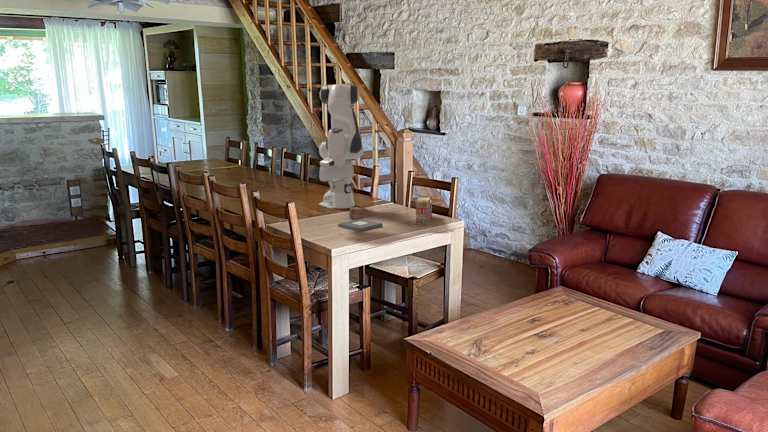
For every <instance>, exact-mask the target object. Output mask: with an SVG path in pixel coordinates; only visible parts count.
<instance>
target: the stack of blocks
mask: <svg viewBox="0 0 768 432" xmlns="http://www.w3.org/2000/svg"><path fill="white" fill-rule="evenodd" d="M432 203H433V201H432V199H431V197H420V196H419V197H418V198H417V200H416V201H415V225H416V226H417V225H418V226H428V225H429V223H430V222H431V219H432V214H433V213H432V212H433V209H432V208H433V206H432V205H433V204H432Z"/></svg>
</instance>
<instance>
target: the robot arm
mask: <svg viewBox="0 0 768 432" xmlns="http://www.w3.org/2000/svg"><path fill="white" fill-rule="evenodd" d="M359 90H360V89H359V88H358V86H357V85H354V84H345V83H342V84H341V83H340V84H330V85H328V84H327V85H322V87H320V91H319V99H320V102H321V103H322V104H324V105H327V110H328V113H329V114H330V125H331V128H330V129H329V130H328V133H327V137H326V139H325V141H322V142H321V143H320V145H319V148H318V153H319V155H320V157H321V158H322V160H320V161H319V166H320V167H319V171H318V172H319V174H318V175H319V176H318V177H319V180H320V181H321V182H327V183H328V185H329V188H330V189H335V185H333V184H332V182H333V180H343V181H344V192H343V193H332V192H330V189H329V190H328V191H327V192H326V193H324V195H323V196H322V197H323V199H322V201H321V202H319V204H318V205H319V206H321V207H325V208H328V209H331V210H332V209H338V210H339V209H350V208H354V207H356V206H355V205H356V204H355V200H354V192H353V190H352V189H353V182H352V178H354V176H355V173H354V166H353V165H354V163H353V161H352V160H354V159H360V158H361V157H362V156H363V155H364V142H363V139H362V138H363V137H362V136H361V132H360V129H359V124H358V119H357V115H356V112H355V109H353V108H351V107H352V106H353V105H355V104H357V102H358V101H359V98H360V91H359ZM350 105H351V107H350Z"/></svg>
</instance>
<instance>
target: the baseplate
mask: <svg viewBox="0 0 768 432" xmlns="http://www.w3.org/2000/svg"><path fill="white" fill-rule="evenodd" d="M337 226H338V227H339V228H343V229H346V230H350V231H351V230H352V231H355V232H364V231H367V230H373V229H376V228H381V227H383V223H382V222H378V221H374V220H369V219H365V218H363V219H357V220H348V221H344V222H340V223H339V222H338V224H337Z"/></svg>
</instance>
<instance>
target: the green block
mask: <svg viewBox="0 0 768 432" xmlns="http://www.w3.org/2000/svg"><path fill="white" fill-rule="evenodd" d="M332 184H333V185H335V189H329V190H330V192H332V193H343V192H344V181H343V180H333V182H332Z"/></svg>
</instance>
